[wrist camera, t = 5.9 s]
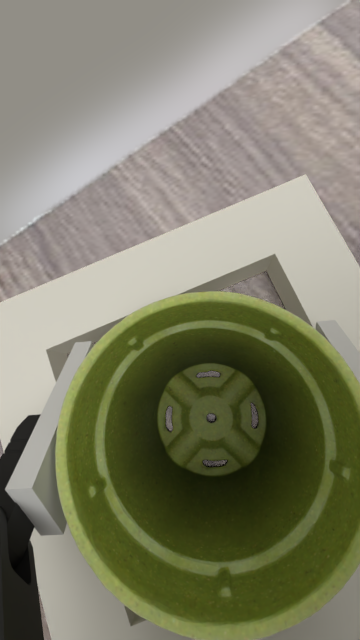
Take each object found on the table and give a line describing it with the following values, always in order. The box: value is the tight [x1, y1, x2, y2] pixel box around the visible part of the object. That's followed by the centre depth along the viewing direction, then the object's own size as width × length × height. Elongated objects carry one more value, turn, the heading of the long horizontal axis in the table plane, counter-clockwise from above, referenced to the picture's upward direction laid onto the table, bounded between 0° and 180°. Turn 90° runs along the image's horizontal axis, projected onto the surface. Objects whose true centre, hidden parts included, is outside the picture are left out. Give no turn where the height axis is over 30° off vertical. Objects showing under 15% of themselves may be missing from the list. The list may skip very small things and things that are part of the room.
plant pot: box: [55, 291, 360, 640], centre depth 13 cm, size 9×9×9 cm
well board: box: [0, 174, 360, 640], centre depth 16 cm, size 20×20×2 cm
